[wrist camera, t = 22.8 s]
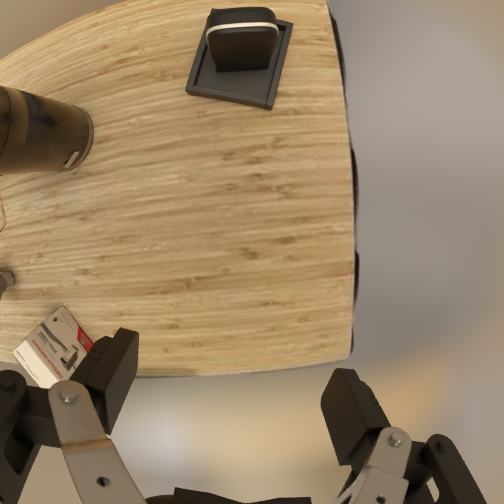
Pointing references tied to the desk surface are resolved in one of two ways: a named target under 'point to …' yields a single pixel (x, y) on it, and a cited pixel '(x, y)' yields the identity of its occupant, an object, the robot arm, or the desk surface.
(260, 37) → the battery charger
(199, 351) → the desk surface
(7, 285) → the light bulb
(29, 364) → the ink box
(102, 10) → the desk surface
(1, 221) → the computer mouse
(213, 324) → the desk surface
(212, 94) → the dock pad
